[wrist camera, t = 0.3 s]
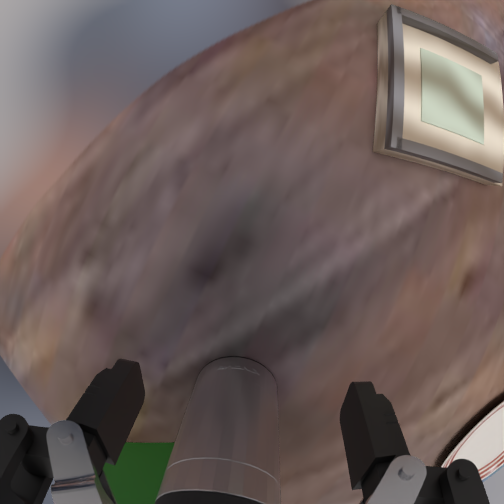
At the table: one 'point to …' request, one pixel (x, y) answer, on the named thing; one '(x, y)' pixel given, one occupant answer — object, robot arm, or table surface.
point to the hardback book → (138, 472)
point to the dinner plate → (483, 444)
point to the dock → (438, 98)
